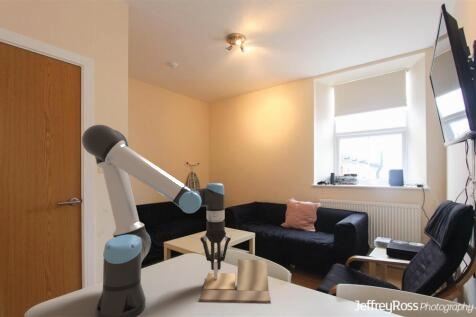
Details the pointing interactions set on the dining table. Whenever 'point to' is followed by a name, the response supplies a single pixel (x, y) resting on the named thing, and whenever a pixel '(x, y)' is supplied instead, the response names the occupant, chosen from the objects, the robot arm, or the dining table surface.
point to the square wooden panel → (252, 275)
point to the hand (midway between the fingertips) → (216, 277)
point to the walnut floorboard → (235, 296)
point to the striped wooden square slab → (220, 281)
